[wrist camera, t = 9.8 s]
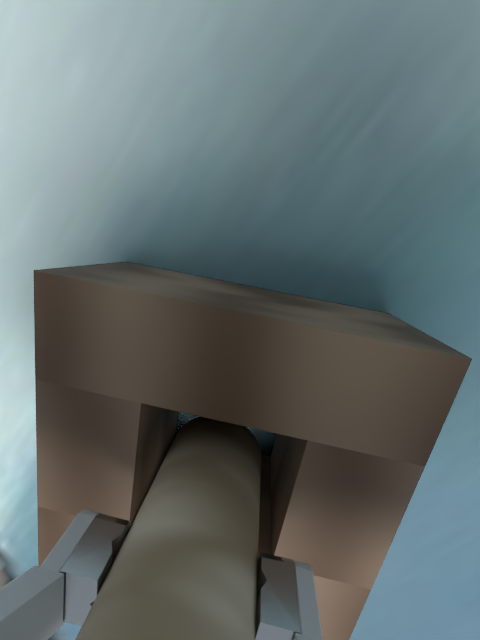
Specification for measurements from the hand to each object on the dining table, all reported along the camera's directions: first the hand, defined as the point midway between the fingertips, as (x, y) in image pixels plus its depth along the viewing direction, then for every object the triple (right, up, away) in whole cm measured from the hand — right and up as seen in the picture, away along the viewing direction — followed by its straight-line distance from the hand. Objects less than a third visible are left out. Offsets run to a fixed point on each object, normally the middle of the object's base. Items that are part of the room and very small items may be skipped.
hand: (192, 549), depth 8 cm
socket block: (+1, +2, +8) cm, 8 cm away
